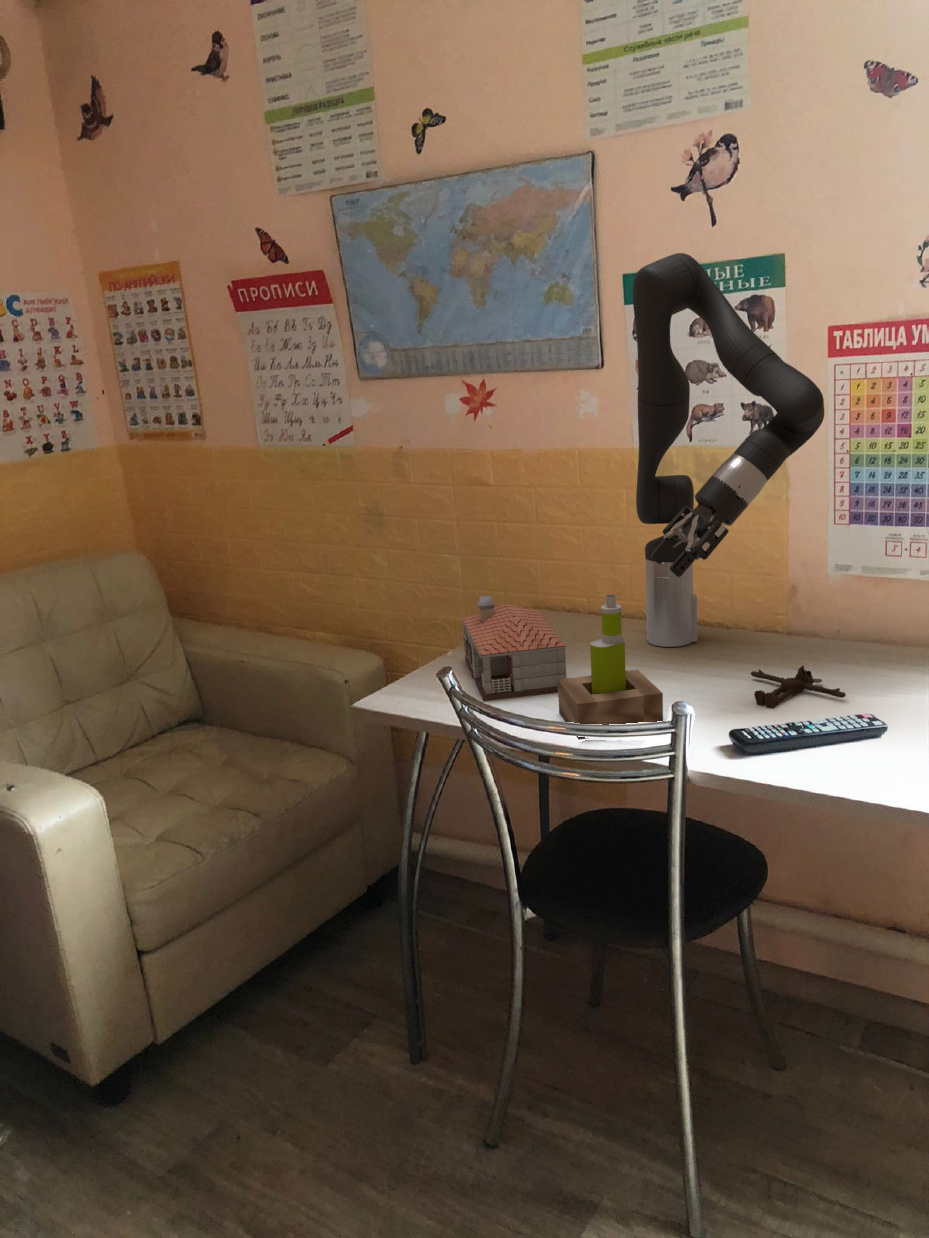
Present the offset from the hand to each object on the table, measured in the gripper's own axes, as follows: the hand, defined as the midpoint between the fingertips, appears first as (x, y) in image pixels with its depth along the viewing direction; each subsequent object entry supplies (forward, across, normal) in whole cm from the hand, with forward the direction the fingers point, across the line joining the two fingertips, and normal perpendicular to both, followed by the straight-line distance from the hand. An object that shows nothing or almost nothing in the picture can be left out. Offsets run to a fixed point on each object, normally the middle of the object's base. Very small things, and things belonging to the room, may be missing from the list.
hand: (663, 567), depth 166 cm
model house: (+32, -25, +3) cm, 41 cm away
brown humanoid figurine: (+3, +2, +33) cm, 33 cm away
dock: (+25, +2, +10) cm, 27 cm away
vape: (+24, +2, +9) cm, 26 cm away
